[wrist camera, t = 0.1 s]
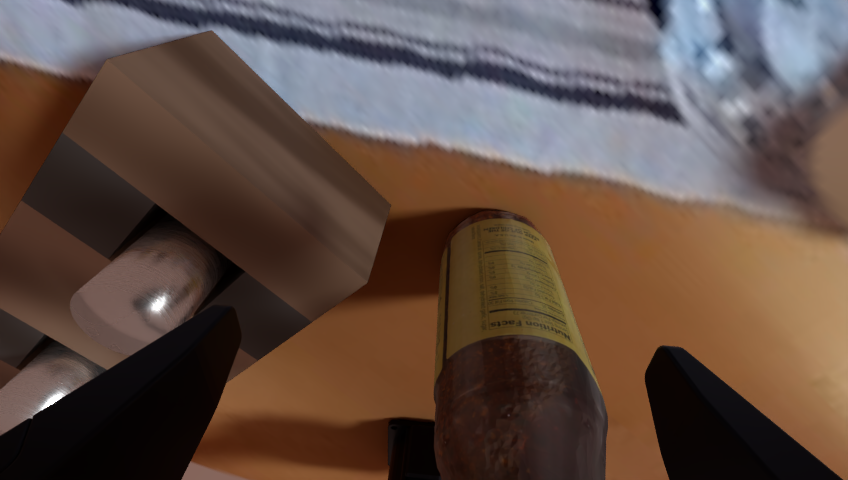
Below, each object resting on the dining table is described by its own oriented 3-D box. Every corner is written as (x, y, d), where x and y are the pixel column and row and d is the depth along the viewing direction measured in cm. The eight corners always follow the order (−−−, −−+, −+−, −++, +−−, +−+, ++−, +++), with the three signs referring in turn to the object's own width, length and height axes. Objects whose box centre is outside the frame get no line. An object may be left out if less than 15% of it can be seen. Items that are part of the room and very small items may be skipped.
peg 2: (202, 179, 20) (94, 268, 14) (263, 229, 21) (188, 330, 16) (165, 221, 22) (54, 317, 16) (224, 265, 23) (142, 369, 17)
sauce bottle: (504, 304, 28) (565, 820, 11) (422, 260, 26) (349, 776, 10) (575, 233, 24) (811, 819, 8) (484, 178, 23) (536, 750, 6)
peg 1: (96, 298, 25) (-16, 400, 19) (151, 333, 26) (62, 438, 21) (72, 325, 27) (-39, 428, 21) (125, 357, 28) (35, 462, 22)
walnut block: (211, 30, 20) (106, 59, 14) (391, 205, 24) (367, 282, 18) (30, 281, 30) (-76, 358, 24) (179, 372, 34) (121, 457, 28)
